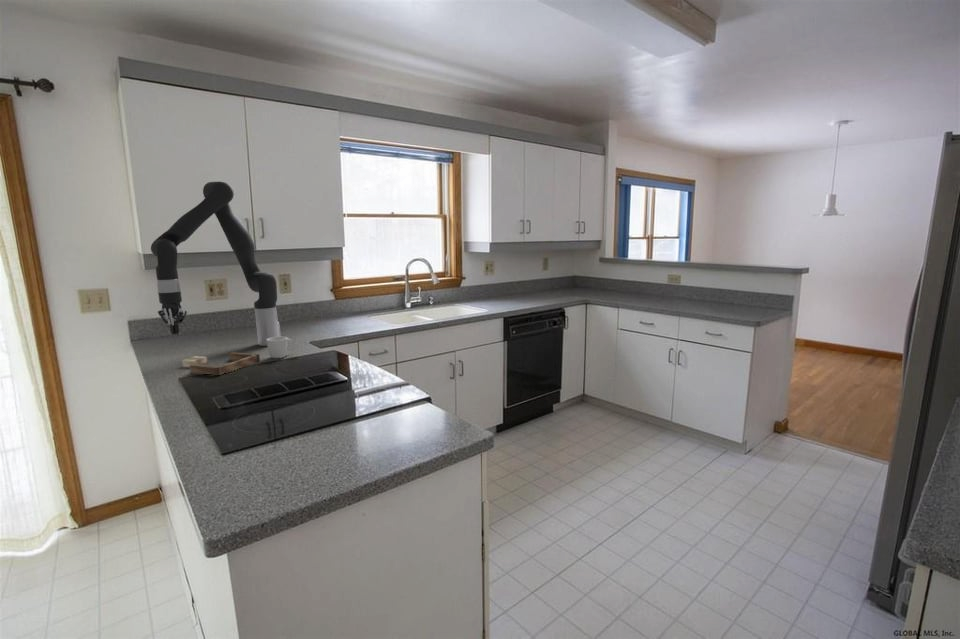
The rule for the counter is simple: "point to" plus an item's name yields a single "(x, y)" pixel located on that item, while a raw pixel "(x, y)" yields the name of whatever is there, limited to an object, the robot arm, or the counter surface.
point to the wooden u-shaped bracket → (239, 362)
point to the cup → (278, 346)
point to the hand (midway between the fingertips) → (175, 333)
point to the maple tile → (194, 361)
